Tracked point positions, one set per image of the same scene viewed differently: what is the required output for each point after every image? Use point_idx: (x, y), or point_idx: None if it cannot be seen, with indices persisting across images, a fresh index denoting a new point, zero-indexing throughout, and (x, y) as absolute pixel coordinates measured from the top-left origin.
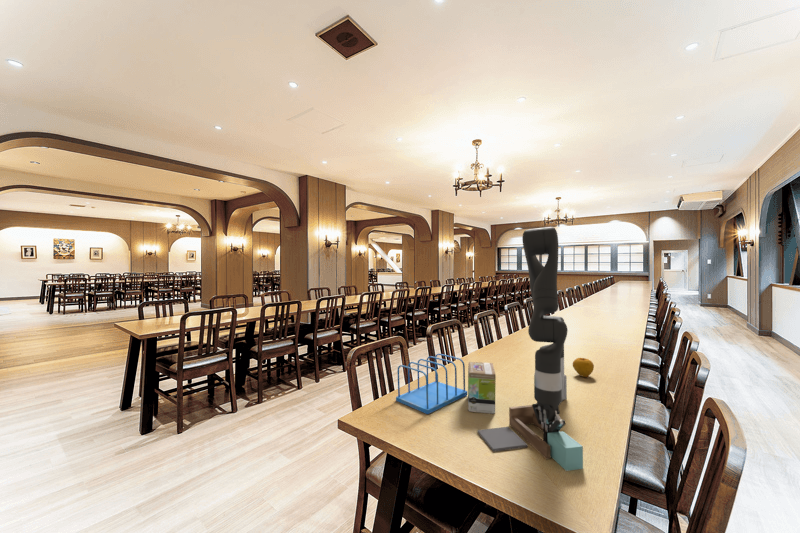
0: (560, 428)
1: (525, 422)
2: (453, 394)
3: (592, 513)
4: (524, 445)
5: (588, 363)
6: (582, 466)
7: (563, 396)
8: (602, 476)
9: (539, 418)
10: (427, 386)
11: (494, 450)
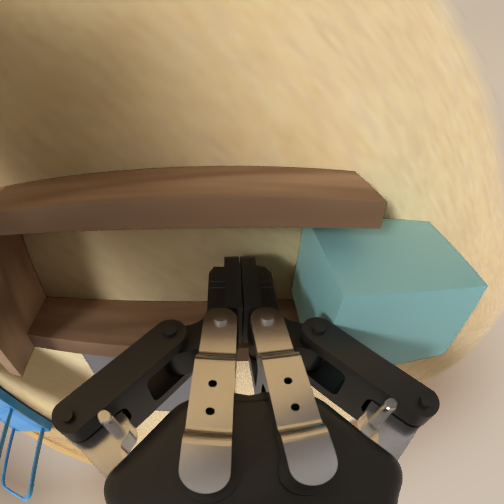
0: (374, 359)
1: (19, 254)
2: None
3: (490, 310)
4: None
5: None
6: (433, 228)
7: None
8: (478, 189)
9: (172, 388)
10: (34, 475)
11: None
